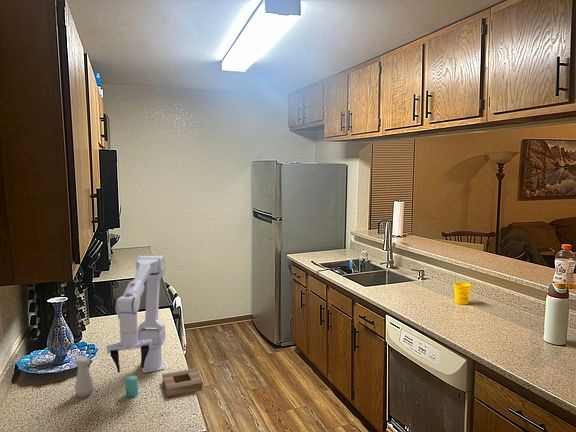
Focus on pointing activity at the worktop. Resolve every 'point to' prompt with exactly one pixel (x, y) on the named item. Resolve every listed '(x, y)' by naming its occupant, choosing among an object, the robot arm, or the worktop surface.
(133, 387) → the teal pin
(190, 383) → the socket block
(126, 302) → the robot arm
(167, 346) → the worktop surface
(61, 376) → the worktop surface
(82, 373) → the salt shaker
